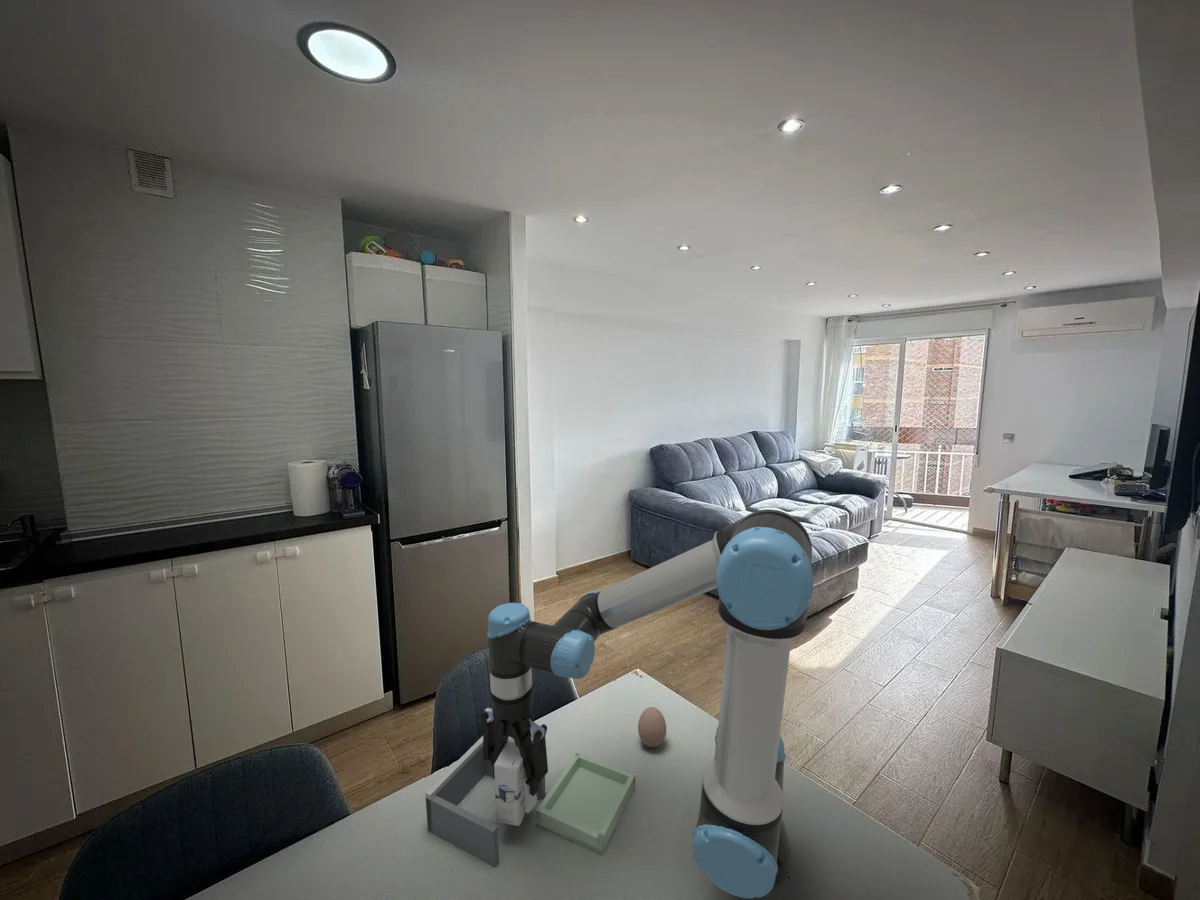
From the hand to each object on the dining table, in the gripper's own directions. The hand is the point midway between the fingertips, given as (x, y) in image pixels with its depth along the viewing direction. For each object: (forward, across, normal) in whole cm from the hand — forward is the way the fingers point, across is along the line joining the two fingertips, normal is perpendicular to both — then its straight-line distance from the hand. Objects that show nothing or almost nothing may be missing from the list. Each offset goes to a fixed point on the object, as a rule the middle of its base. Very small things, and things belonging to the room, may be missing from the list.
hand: (516, 800), depth 91 cm
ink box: (+1, 0, 0) cm, 1 cm away
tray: (+6, -10, -10) cm, 15 cm away
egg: (+6, -16, -31) cm, 35 cm away
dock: (+5, +7, 0) cm, 9 cm away
